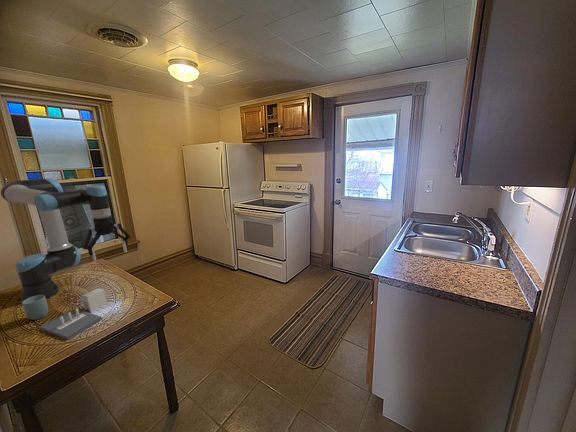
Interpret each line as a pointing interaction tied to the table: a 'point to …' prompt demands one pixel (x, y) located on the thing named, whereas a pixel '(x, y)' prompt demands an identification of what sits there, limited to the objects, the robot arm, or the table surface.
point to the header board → (70, 323)
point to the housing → (94, 299)
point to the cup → (35, 307)
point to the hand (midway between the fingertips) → (110, 256)
